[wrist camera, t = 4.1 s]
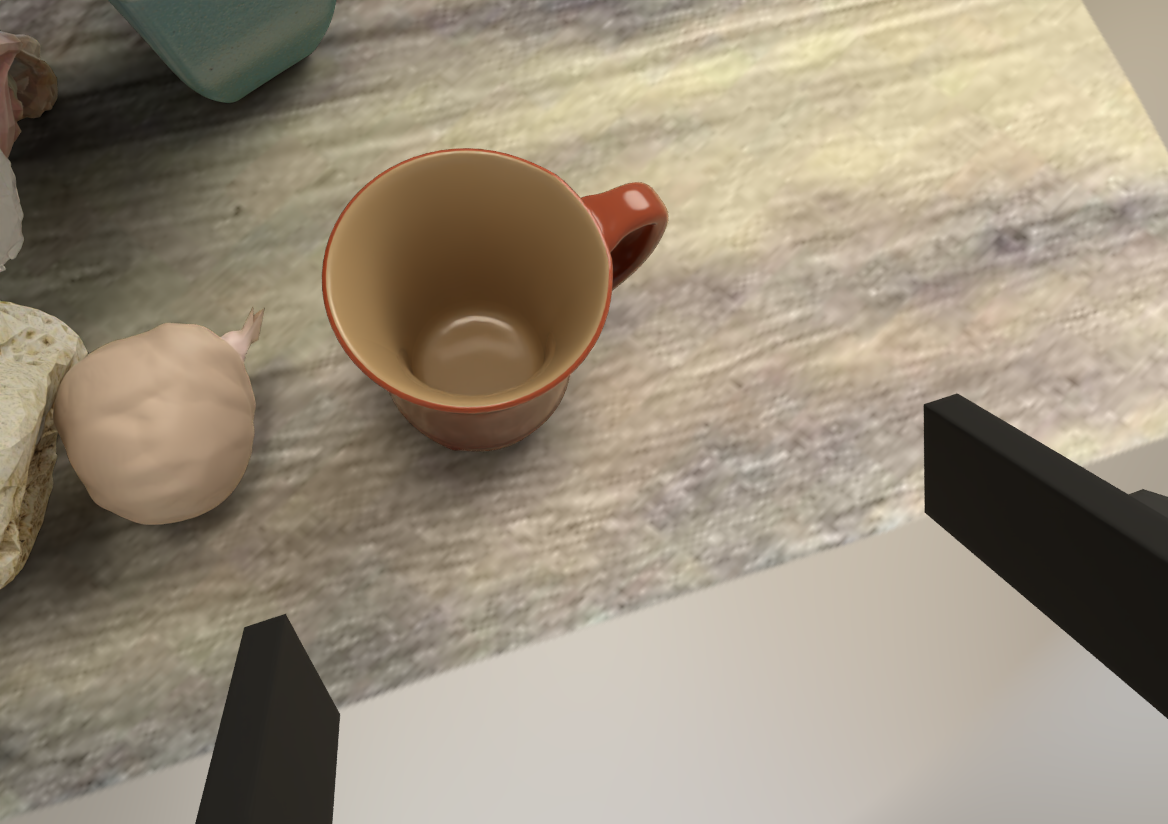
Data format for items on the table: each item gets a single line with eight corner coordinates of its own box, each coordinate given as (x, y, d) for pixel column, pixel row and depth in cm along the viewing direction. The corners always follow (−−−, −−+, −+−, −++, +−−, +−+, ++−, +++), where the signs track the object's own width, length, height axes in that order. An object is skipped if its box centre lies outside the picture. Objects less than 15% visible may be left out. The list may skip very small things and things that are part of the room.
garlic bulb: (113, 428, 31) (304, 363, 33) (134, 567, 29) (341, 489, 30) (5, 339, 25) (243, 265, 27) (19, 503, 23) (283, 410, 24)
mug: (439, 514, 31) (409, 466, 21) (340, 340, 33) (269, 219, 23) (679, 377, 34) (751, 277, 24) (577, 222, 35) (606, 67, 25)
